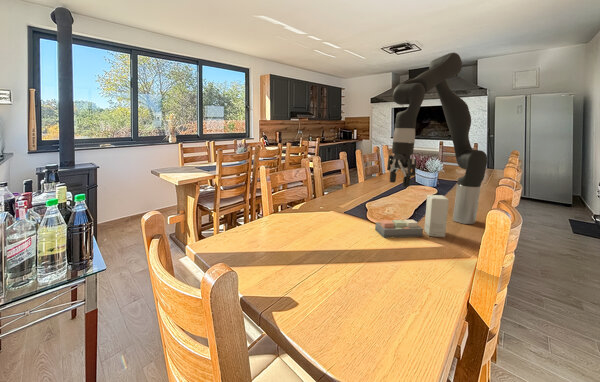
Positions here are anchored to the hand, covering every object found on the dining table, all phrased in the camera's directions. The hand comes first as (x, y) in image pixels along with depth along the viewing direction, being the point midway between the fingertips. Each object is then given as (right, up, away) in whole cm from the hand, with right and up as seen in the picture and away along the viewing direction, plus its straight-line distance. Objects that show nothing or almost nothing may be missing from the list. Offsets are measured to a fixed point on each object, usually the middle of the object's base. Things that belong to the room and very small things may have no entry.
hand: (398, 184), depth 108 cm
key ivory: (+8, -17, +9) cm, 20 cm away
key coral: (-2, -17, +8) cm, 19 cm away
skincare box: (+17, -20, +9) cm, 28 cm away
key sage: (+3, -17, +8) cm, 19 cm away
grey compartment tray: (+3, -20, +9) cm, 22 cm away
